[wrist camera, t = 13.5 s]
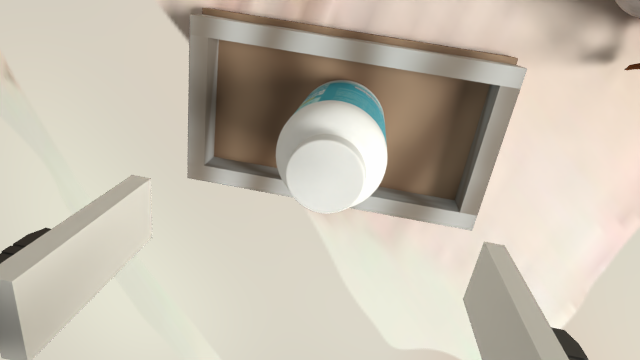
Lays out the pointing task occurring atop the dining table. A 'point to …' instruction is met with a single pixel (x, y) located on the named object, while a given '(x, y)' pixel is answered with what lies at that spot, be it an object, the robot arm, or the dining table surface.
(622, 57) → the dining table surface
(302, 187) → the pill bottle
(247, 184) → the grey rimmed shallow tray
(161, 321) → the dining table surface
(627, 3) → the decorative duck model
